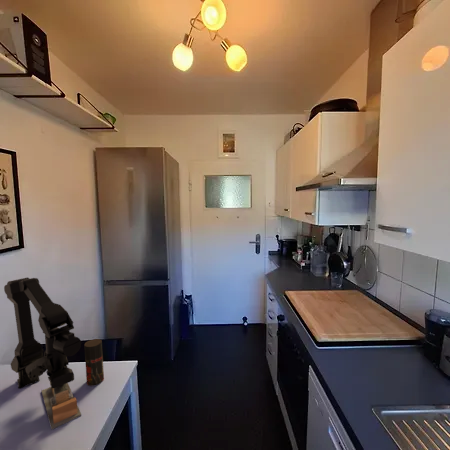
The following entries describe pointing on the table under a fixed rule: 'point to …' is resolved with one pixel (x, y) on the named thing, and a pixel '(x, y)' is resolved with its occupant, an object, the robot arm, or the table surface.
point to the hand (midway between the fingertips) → (59, 391)
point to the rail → (60, 409)
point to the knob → (61, 395)
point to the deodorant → (94, 362)
